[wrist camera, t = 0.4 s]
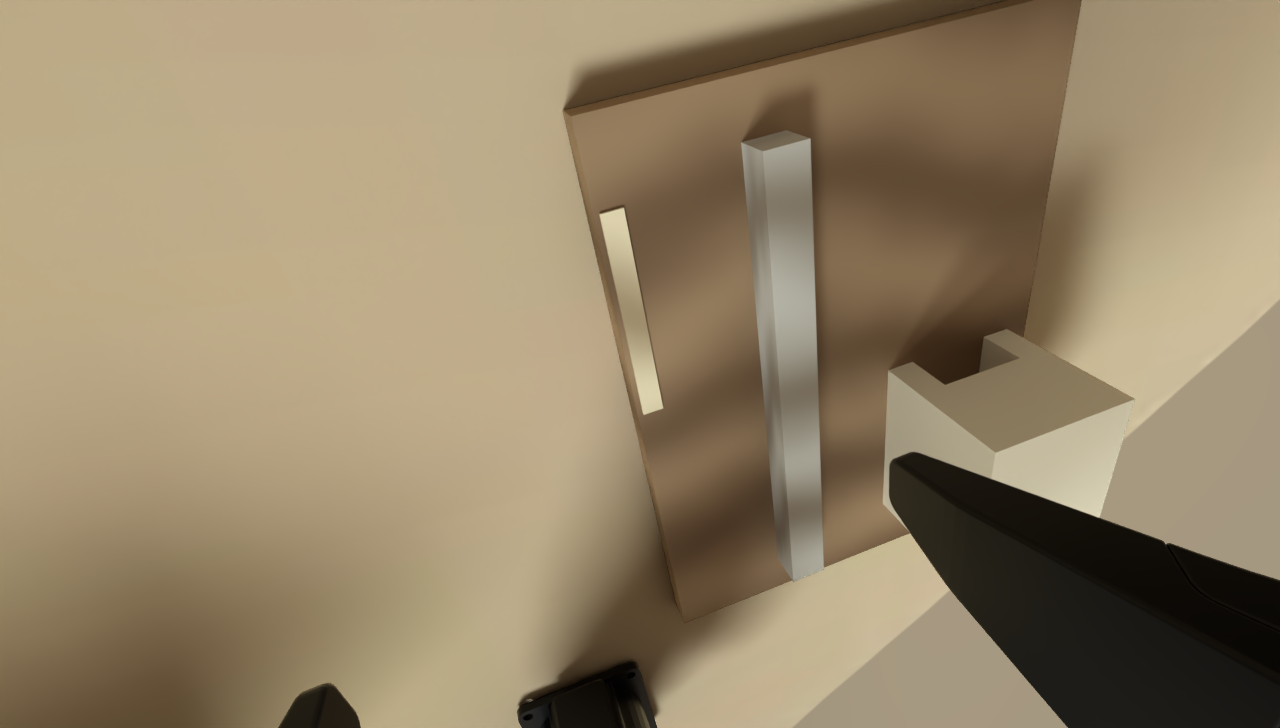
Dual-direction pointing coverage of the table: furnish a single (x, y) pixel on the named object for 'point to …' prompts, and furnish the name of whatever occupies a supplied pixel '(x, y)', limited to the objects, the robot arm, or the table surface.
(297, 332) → the table surface
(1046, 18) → the cleat board
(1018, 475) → the notched block
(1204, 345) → the table surface
